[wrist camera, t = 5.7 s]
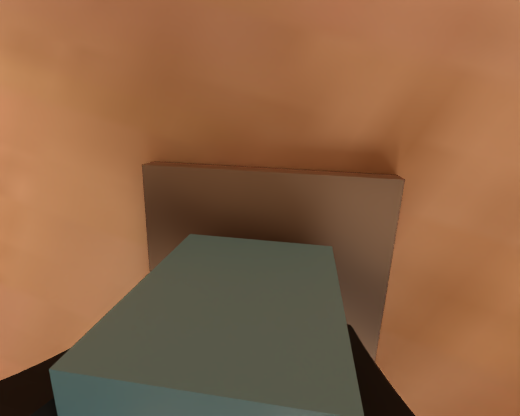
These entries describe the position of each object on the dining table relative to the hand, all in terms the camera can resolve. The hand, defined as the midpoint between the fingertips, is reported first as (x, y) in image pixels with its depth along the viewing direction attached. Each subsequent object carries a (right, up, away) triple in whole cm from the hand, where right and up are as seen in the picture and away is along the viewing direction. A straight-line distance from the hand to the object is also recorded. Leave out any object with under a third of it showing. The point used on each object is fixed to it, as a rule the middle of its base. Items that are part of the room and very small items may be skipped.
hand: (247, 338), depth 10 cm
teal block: (0, +1, +2) cm, 2 cm away
